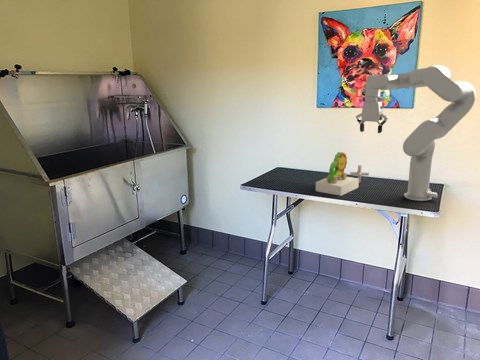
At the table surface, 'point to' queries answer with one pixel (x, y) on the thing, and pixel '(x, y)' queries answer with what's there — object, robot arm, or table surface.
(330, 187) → the cream step
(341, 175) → the toy lion
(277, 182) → the table surface
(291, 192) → the table surface
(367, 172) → the pipe connector
